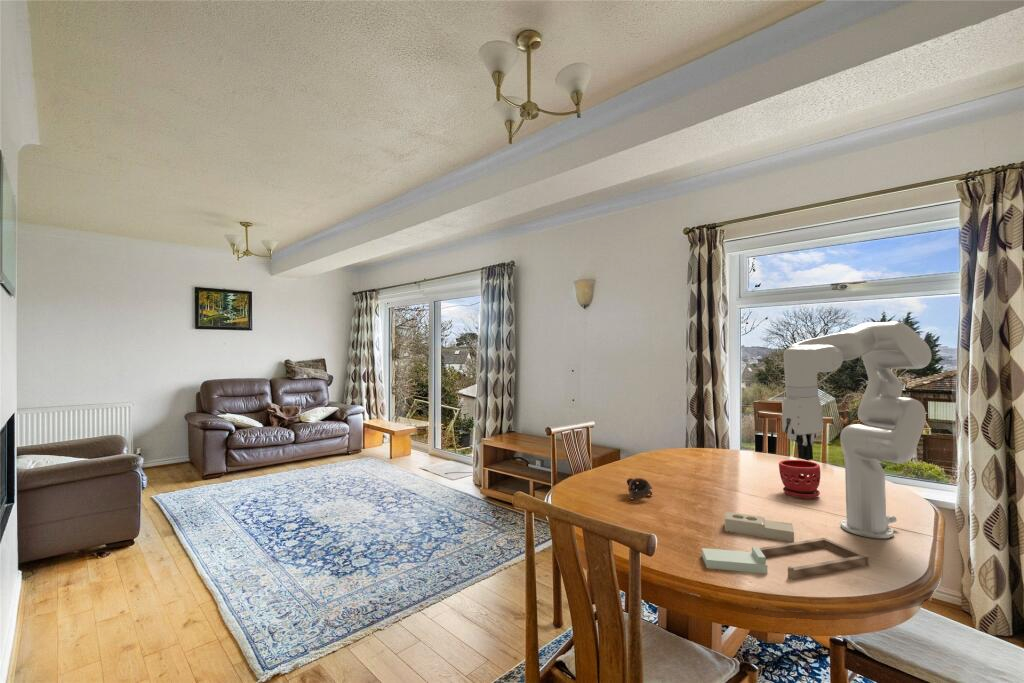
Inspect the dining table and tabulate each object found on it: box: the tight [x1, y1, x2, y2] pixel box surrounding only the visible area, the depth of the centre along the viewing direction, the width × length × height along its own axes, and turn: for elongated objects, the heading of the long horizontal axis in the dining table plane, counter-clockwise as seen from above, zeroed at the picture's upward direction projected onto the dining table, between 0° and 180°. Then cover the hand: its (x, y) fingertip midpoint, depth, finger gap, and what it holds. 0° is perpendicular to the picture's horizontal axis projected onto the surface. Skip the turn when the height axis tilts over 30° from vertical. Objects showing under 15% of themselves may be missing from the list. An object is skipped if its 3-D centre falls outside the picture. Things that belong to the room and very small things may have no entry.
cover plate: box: [701, 546, 769, 574], centre depth 118 cm, size 14×7×4 cm, turn 77°
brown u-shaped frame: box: [759, 537, 870, 580], centre depth 120 cm, size 24×12×2 cm, turn 106°
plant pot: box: [778, 459, 821, 500], centre depth 172 cm, size 13×13×12 cm
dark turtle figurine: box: [626, 477, 653, 500], centre depth 172 cm, size 12×10×8 cm
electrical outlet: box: [724, 511, 795, 543], centre depth 139 cm, size 7×4×18 cm
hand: (805, 458), depth 126 cm, fingers closed
